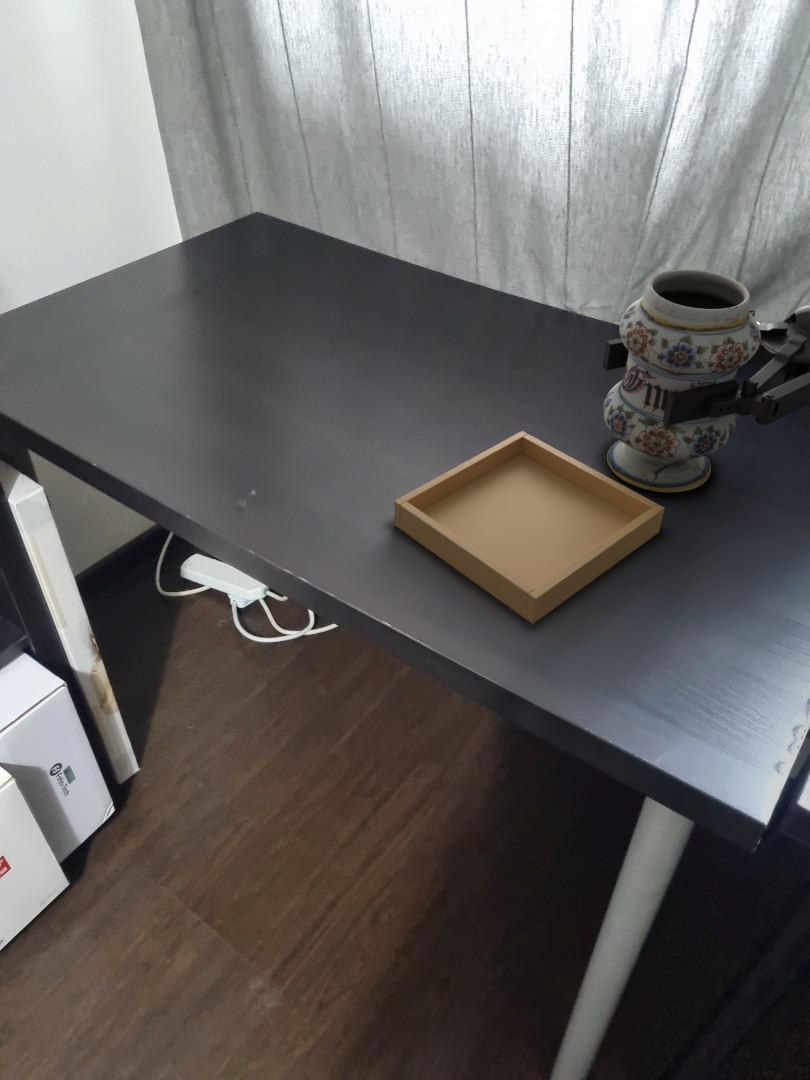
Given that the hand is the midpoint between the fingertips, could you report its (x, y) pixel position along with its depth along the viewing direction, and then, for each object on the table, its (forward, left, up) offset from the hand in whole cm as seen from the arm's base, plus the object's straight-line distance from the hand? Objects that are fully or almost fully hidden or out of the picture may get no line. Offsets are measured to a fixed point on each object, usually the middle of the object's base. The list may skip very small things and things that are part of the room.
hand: (635, 381), depth 73 cm
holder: (0, +13, -10) cm, 16 cm away
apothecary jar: (-2, -4, -10) cm, 11 cm away
